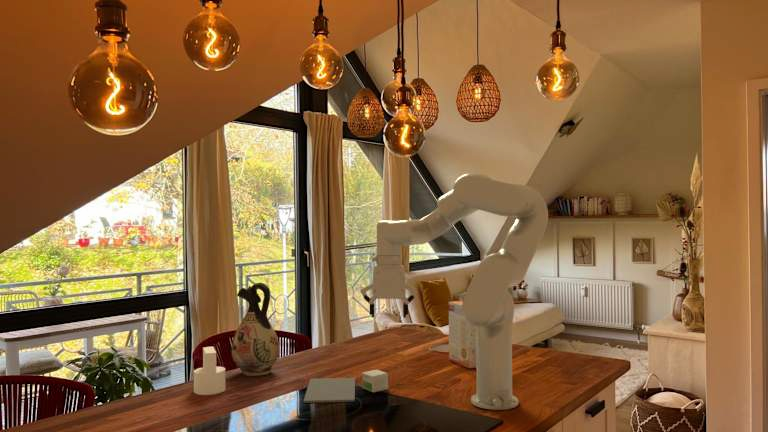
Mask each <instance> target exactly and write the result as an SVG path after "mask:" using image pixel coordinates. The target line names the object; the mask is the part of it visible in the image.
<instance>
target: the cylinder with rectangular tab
mask: <svg viewBox="0 0 768 432" xmlns="http://www.w3.org/2000/svg"><path fill="white" fill-rule="evenodd" d="M225 391H226V368H225V367H224V366H217V352H216V349H215V347H214V346H205V347H202V367H198V368H196V369H194V370H193V393H194V394H196V395H200V396H211V395H217V394H221V393H222V392H225Z"/></svg>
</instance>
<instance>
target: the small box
mask: <svg viewBox="0 0 768 432" xmlns="http://www.w3.org/2000/svg"><path fill="white" fill-rule="evenodd" d="M361 375H362V376H361V380H362V384H361V385H362V389H364V390H366V391H368V392H371V393H376V392H382V391H386V390H389V379H388V378H389V373H387V372H385V371H382V370H379V369H372V370H368V371H363V372H362V374H361Z"/></svg>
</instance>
